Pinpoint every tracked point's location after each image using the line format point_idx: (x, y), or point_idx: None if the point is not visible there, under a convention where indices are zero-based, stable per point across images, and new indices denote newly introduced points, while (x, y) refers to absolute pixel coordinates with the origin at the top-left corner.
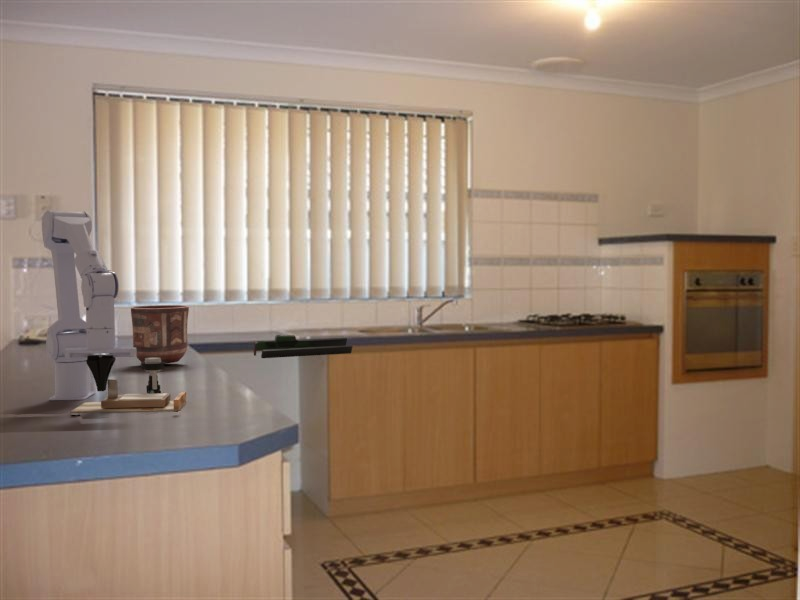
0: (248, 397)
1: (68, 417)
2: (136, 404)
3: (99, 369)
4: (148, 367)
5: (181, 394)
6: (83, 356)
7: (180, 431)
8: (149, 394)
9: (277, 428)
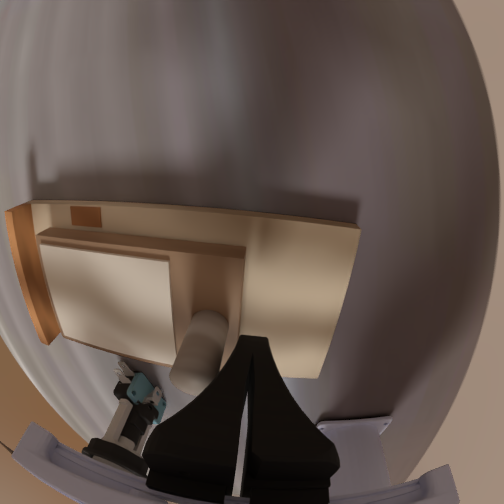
0: (12, 347)
1: (362, 203)
2: (111, 237)
3: (250, 426)
4: (114, 451)
5: (27, 301)
6: (352, 498)
7: (36, 2)
8: (99, 333)
9: None
